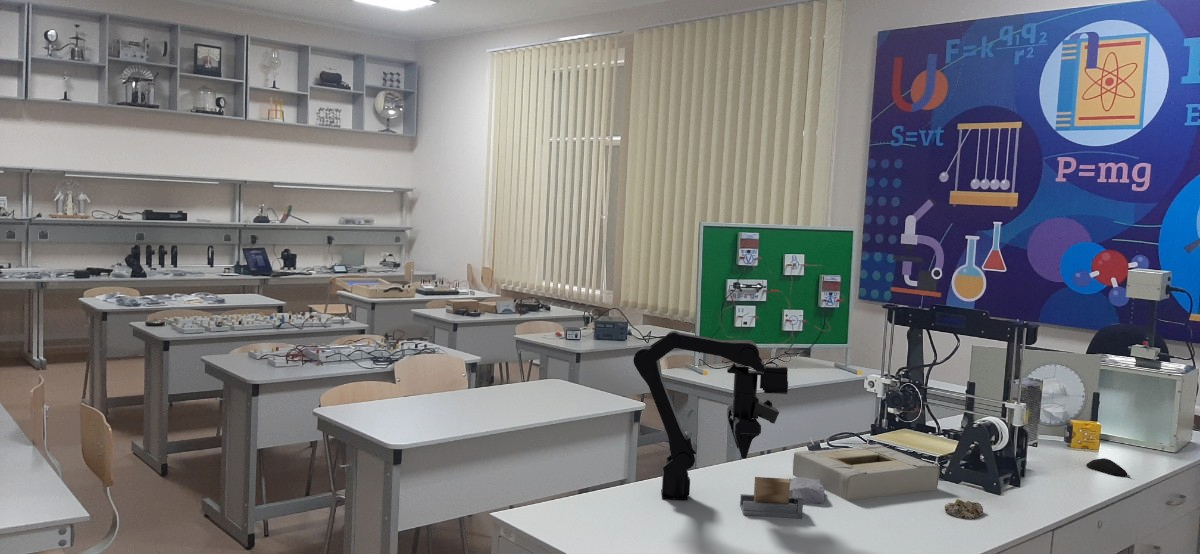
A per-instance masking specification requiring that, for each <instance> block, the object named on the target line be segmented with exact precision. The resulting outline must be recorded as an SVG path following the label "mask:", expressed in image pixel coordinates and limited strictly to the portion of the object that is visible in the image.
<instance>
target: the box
mask: <svg viewBox="0 0 1200 554" xmlns="http://www.w3.org/2000/svg"><path fill="white" fill-rule="evenodd" d="M792 476H794V477H795V478H796V477H799V478H800V477H802V478H808V479H814V480H818V479H819V480H820V484H821V485H822V486H823V487H824V491H826V492H828V493H830V494H833V495H835V496H836V497H839V498H841V499H843V500H844V501H854V500H860V499H861V500H862V499H868V498H878V497H885V496H893V495H901V494H909V493H917V492H924V491H932V490H933V491H934V490H938V485H939V481H940V466H939V465H937V464H933V463H931V462H927V461H925V460H922V459H918V458H916V457H914V456H911V455H908V454H905V453H903V452H900V451H897V450H895V449H891V448H888V447H886V446H884V445H881V444H878V443H877V444H868V445H859V446H857V447H848V448H836V449H835V448H834V449H823V450H801V451H795V452H793V460H792Z"/></svg>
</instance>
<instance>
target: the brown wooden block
mask: <svg viewBox="0 0 1200 554" xmlns="http://www.w3.org/2000/svg"><path fill="white" fill-rule="evenodd" d="M788 479H789V478H782V477H781V478H780V477H765V476H764V477H763V476H762V477H761V476H755V477H754V484H753V485H754V487H753V495H754V501H755V502H773V503H789V491H790V482H789V480H788Z"/></svg>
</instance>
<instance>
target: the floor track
mask: <svg viewBox="0 0 1200 554" xmlns="http://www.w3.org/2000/svg"><path fill="white" fill-rule="evenodd" d="M739 500H740V501H739V507H740V509H741V510H740V511H741V513H742V516H754V517H770V518H771V517H773V518H787V519H790V518H791V519H803V511H804V509H803V506H804V502H803V497H802V495H801V493H800V492H799V490H798V489H793V495H792V497H789V503H773V502H755V501H754V494H745V493H742V494H741V493H740V499H739Z"/></svg>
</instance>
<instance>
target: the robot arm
mask: <svg viewBox="0 0 1200 554" xmlns="http://www.w3.org/2000/svg"><path fill="white" fill-rule="evenodd" d="M674 349H679V350H685V351H689V352H695V353H699V354H707V355H713V356H718V357H722V358H723V359H726V360H728V361H730V362H732V364H731V365H730V366H729V367H728V368H727V369H726V372H727V373H728V374H734V376H733V377H734V378H733V391H732V393H731V398H732V404H731V405H729V406H728V407H727V408H726V417H727V421H728V424H729V427H730V430H731V434H732V436H733V439H734V442H735V446H736V448H737V449H738V450H739V451H738V452H739V454H740V457H741V459H747V457H748V454H749V451H750V447H751V445H752V441H753V439H755V438H756V437H759V436H760V434H762V425H761V423H760V422H759V421H758V419H759V418H761V419H763V420H766V421H769V423H771V424H773V425H774V424H775V423H776V421H777V419H778V416H779V414H780V411H779V409H777V408H776V407H774V406H773V402H772V400H769V399H766V398H765V399H764V400H763V401H760V398H759V397H758V396H757V394H758V392H757V391H758V378H759V389H761V390H762V391H763V393H764V394H772V395H773V394H774V395H788V393H789V392H788V390H789V381H788V378H789V377H788V371H789V369H788V367H787V366H784V365H783V366H769V365H766V364H765V361H763V359H762V358H761V357H760V351H759V346H758V345H757V344H756V342H754V341H753V340H751V339H729V340H728V339H727V340H724V339H723V340H722V339H717V338H713V337H712V338H711V337H707V336H701V335H695V334H689V333H683V332H679V331H677V330H672V331H671V330H670V331H669V332H668V333H667V334H666V335H665V336H663V337H661V338H660V339H658V340H657V341H655V342H654V343H652V344H650V345H643V346H641V347H639V348H638V350H637V351H636V352H635V353H634V356H633V361H632V362H633V365H634V366H635V369H636V370H637V372H638V373H639V375H640V377H641V378H642V379H643V380H644V382H645V383H646V385H647V386H648V388H649V392H650V394H651V396H652V399H653V401H654V403H655V406H656V408H657V409H656V410H657V411H658V414H659V416H660V419H661V421H662V424H663V426H664V430H665V432H666V435H667V438H668V444H669V445H668V446H669V451H670V455H669V456H667V457H666V458H665V459H664V460H665V461H664V465H663V467H662V477H661V478H662V481H661V489H660V494H661V499H662V500H663V499H664V500H677V501H678V500H681V501H688V499H689V496H690V489H691V488H690V487H691V478H690V477H689V473H688V470H689V469H691V468H693V467H694V465H695V463H696V458H697V451H698V445H697V444H696V443H695V440H694V436H693V433H692V432H690V433H688V434H687V432H685V431H684V430H683V427H682V425H681V422H680V420H679V417H678V414H677V412H676V409H675V407H674V404H673V402H672V399H671V396H670V395H669V392H668V389H667V386H666V385H665V381H664V379H663V373H662V365H661V361H660V359H662V358H663V357H665V356H666V355H667V354H669V353H670V352H672V350H674ZM737 364H738V365H737ZM750 368H752V369H753V370H751V369H750ZM758 376H760V377H758Z"/></svg>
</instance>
